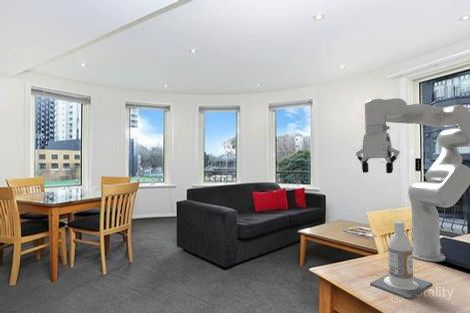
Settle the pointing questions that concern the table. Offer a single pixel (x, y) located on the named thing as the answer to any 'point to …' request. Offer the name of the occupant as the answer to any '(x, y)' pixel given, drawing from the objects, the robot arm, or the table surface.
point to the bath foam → (400, 257)
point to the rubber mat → (401, 290)
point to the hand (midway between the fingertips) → (377, 172)
